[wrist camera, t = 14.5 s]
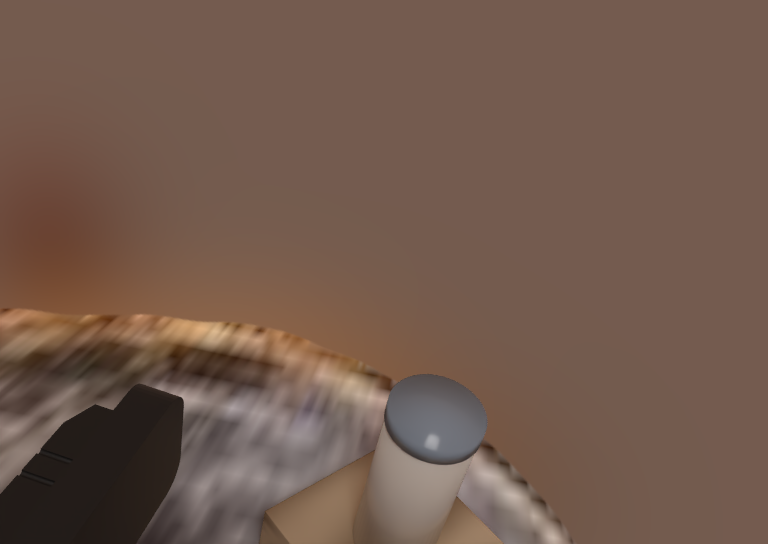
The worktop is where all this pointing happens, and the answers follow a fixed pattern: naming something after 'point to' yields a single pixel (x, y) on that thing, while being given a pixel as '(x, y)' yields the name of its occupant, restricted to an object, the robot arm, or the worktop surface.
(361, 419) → the worktop surface
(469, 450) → the canister
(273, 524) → the base block
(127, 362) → the worktop surface
